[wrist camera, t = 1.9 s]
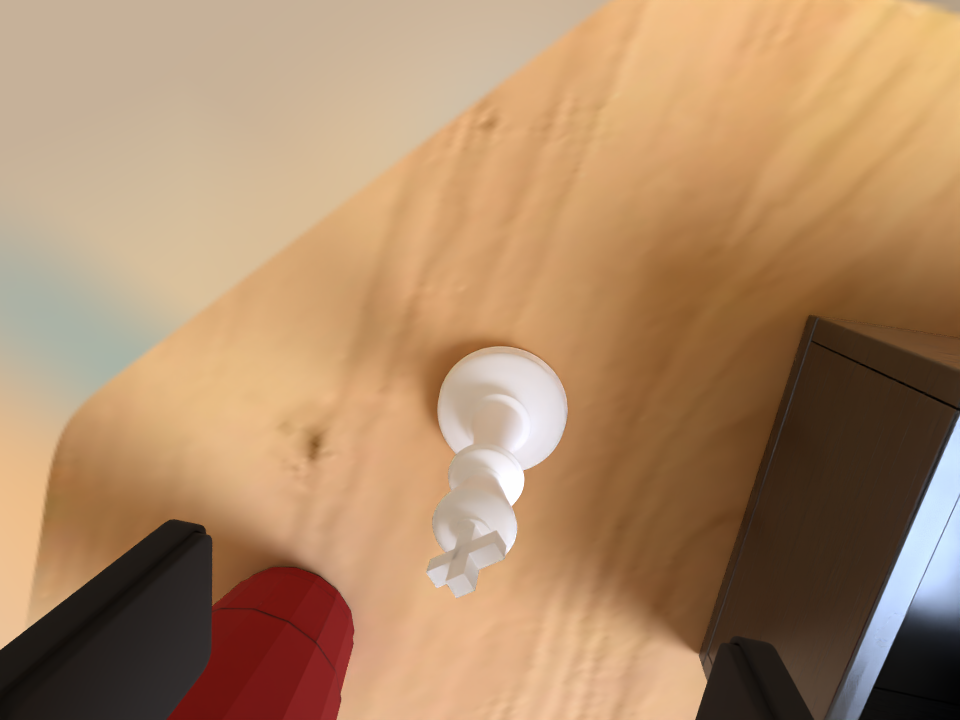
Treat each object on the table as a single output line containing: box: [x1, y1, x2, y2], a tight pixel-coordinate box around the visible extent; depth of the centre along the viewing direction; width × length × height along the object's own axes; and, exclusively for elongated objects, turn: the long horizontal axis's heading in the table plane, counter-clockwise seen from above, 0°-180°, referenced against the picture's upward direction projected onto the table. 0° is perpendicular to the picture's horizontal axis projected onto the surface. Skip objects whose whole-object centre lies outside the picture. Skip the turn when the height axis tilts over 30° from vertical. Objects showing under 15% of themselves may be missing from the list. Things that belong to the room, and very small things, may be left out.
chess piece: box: [426, 346, 568, 598], centre depth 15 cm, size 5×5×10 cm
